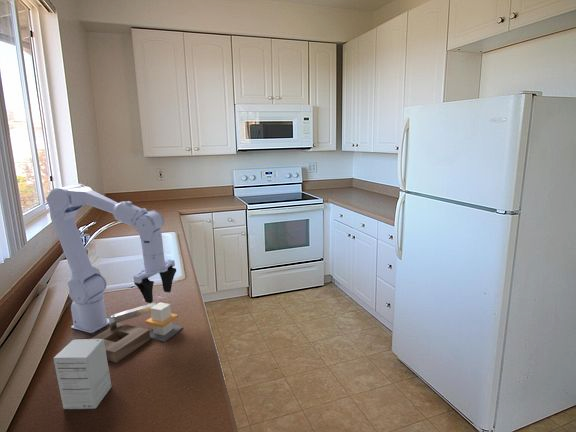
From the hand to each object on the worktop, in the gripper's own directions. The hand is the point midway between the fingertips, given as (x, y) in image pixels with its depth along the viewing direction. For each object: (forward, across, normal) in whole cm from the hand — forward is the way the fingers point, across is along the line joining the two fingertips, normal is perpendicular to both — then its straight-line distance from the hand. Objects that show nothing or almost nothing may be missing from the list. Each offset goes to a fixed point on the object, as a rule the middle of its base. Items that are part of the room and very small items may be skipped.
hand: (158, 296), depth 109 cm
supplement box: (+11, -30, -6) cm, 32 cm away
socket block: (+10, -12, +5) cm, 17 cm away
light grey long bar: (+7, -4, +7) cm, 11 cm away
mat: (+10, -2, -2) cm, 11 cm away
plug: (+10, -2, -2) cm, 10 cm away
